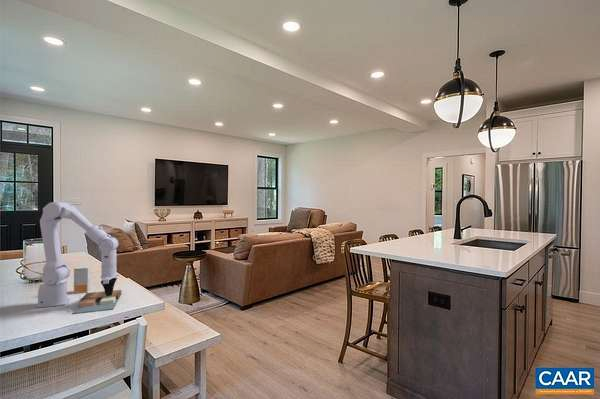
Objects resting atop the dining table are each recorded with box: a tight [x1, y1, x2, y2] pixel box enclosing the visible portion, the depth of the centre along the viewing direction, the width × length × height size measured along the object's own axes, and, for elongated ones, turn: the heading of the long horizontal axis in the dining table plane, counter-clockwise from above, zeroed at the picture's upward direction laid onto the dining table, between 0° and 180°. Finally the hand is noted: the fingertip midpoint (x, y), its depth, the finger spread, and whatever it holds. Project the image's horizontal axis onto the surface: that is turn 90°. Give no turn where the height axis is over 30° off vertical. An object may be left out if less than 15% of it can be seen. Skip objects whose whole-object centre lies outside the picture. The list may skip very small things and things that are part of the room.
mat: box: [72, 299, 119, 315], centre depth 132 cm, size 14×12×1 cm
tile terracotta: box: [79, 298, 97, 307], centre depth 133 cm, size 5×5×2 cm
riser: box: [80, 289, 122, 303], centre depth 142 cm, size 14×9×2 cm, turn 112°
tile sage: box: [100, 296, 116, 305], centre depth 136 cm, size 5×5×2 cm
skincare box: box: [73, 265, 92, 294], centre depth 151 cm, size 6×4×12 cm
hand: (109, 295), depth 138 cm, fingers closed
